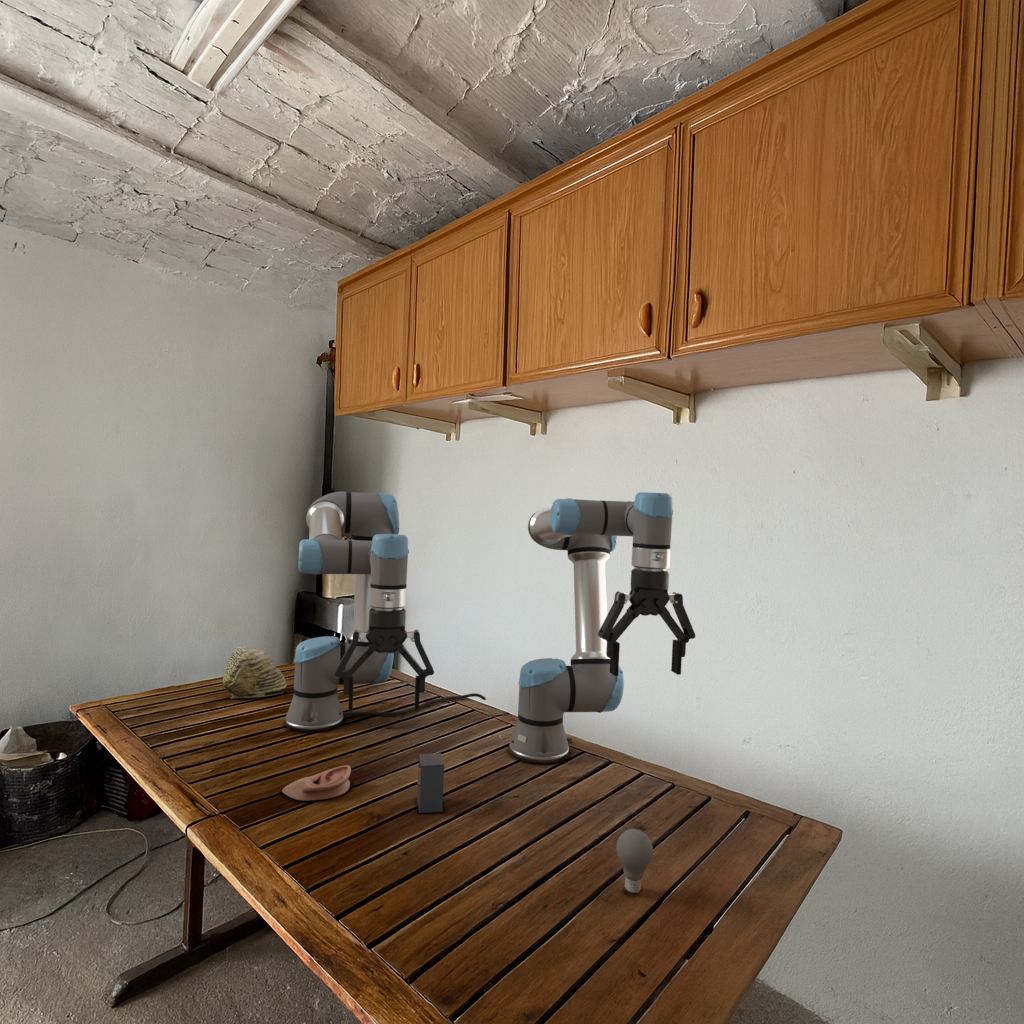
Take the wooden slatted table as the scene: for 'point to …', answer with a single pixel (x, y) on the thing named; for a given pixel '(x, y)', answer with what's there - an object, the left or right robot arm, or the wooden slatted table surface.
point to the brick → (430, 783)
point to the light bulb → (634, 857)
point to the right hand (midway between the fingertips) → (645, 673)
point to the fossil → (252, 674)
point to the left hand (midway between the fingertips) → (383, 709)
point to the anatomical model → (320, 785)
